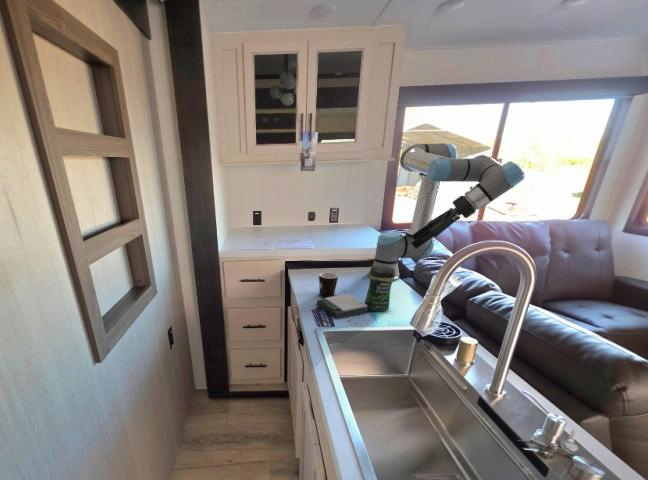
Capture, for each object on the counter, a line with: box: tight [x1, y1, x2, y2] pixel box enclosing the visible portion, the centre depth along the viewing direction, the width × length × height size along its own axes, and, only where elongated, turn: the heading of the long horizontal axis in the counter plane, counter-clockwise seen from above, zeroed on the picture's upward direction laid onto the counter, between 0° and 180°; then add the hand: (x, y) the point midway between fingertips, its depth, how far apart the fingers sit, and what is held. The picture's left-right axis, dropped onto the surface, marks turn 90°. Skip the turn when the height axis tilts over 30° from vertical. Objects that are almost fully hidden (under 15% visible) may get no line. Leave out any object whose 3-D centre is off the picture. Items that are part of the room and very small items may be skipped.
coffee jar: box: [364, 265, 395, 312], centre depth 130 cm, size 10×8×19 cm
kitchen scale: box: [316, 293, 370, 320], centre depth 133 cm, size 16×14×3 cm
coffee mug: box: [318, 271, 339, 299], centre depth 146 cm, size 12×9×10 cm
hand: (413, 242), depth 119 cm, fingers open, 13 cm apart
